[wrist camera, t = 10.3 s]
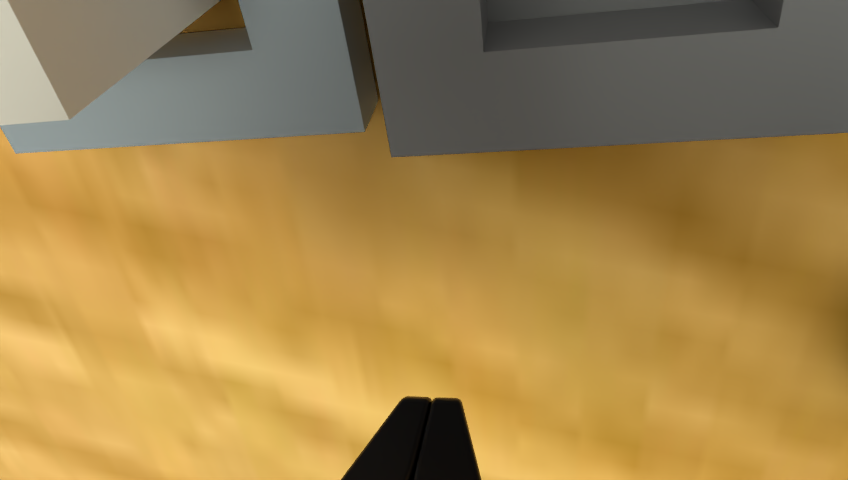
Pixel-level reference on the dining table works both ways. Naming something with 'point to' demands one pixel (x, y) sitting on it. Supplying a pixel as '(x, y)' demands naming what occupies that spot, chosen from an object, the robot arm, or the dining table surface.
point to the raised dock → (605, 71)
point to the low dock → (232, 84)
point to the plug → (78, 50)
